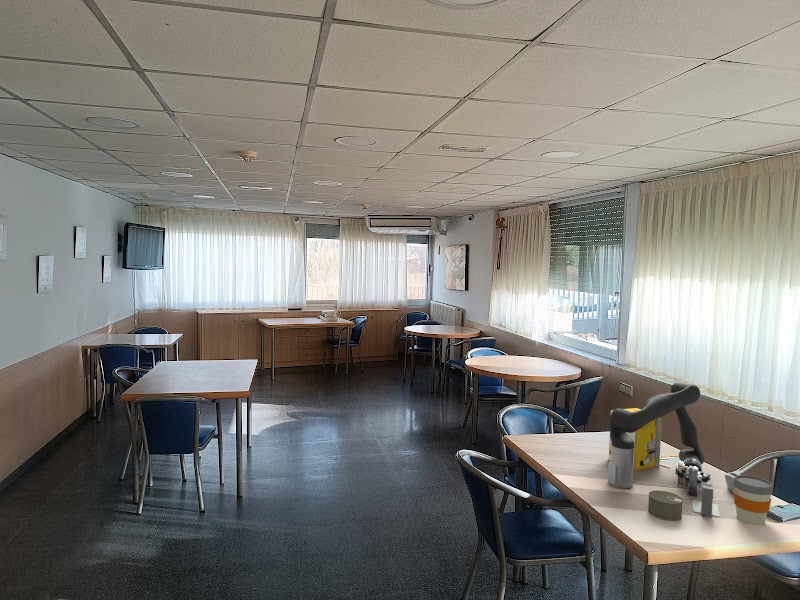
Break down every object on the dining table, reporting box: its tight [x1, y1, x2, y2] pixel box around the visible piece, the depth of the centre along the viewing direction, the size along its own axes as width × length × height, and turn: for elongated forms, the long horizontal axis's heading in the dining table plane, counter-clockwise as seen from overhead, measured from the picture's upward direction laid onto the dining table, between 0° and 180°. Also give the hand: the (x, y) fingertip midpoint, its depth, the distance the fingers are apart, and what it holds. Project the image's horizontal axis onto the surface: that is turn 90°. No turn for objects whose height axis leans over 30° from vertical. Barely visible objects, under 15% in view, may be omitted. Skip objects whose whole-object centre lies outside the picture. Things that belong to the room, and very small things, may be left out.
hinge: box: [724, 472, 741, 492], centre depth 222 cm, size 17×5×10 cm, turn 178°
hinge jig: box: [691, 482, 721, 519], centre depth 208 cm, size 14×9×11 cm, turn 152°
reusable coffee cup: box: [732, 474, 774, 526], centre depth 200 cm, size 13×13×15 cm
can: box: [647, 490, 684, 522], centre depth 203 cm, size 12×12×7 cm
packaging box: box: [608, 407, 663, 472], centre depth 258 cm, size 16×16×25 cm
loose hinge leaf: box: [687, 466, 699, 498], centre depth 222 cm, size 3×6×11 cm, turn 152°
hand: (693, 481), depth 221 cm, fingers closed on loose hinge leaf, 3 cm apart
